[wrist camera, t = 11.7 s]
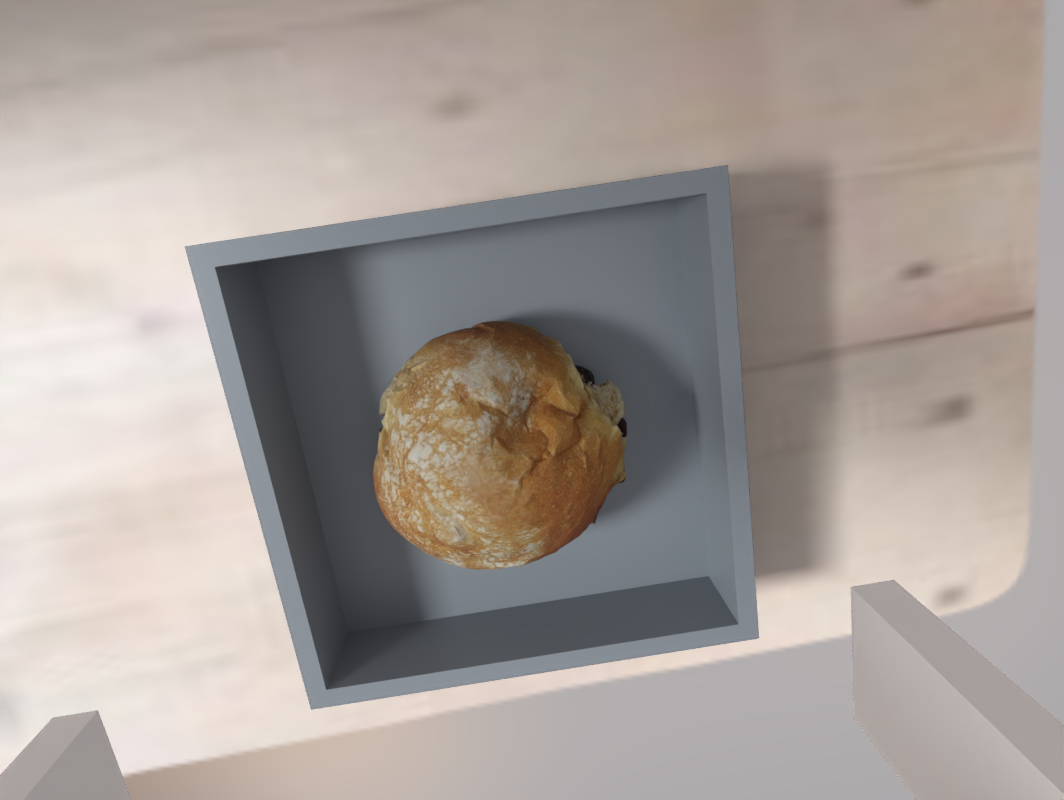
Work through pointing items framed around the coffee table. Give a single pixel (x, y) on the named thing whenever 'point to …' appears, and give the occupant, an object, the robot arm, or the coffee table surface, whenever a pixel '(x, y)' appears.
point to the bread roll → (496, 447)
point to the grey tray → (461, 302)
